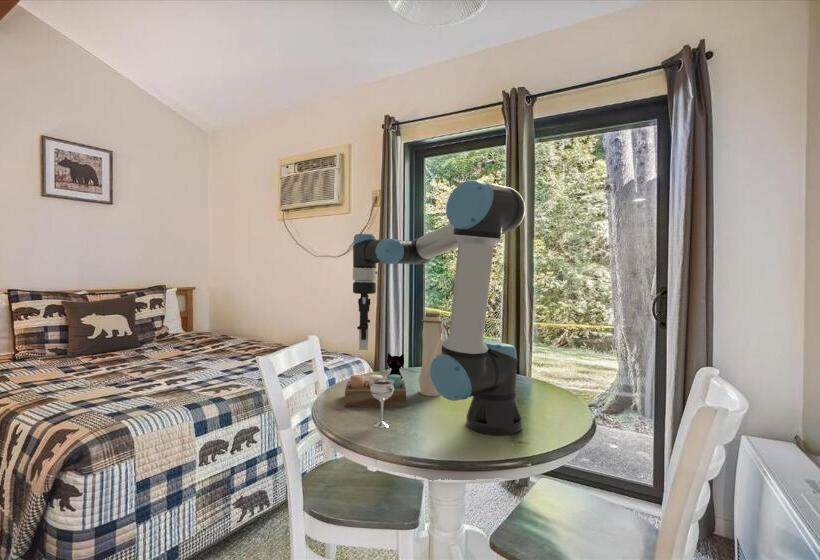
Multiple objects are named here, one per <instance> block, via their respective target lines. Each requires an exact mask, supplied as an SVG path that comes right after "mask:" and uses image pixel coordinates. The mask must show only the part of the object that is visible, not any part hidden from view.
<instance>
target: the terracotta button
mask: <svg viewBox="0 0 820 560" xmlns="http://www.w3.org/2000/svg"><path fill="white" fill-rule="evenodd" d="M350 381H351V388H364V381H365V376H364V375H363V374H353V375H350Z"/></svg>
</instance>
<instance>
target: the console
mask: <svg viewBox="0 0 820 560" xmlns="http://www.w3.org/2000/svg"><path fill="white" fill-rule="evenodd" d="M406 388H407V387H406V383H405V380H403V379H401V388H394V393H393V395H392V396H391V397H390V398H389V399H387V400H385V402H384V405H383V408H388V407H389V408H390V407H393V408H394V407H407V389H406ZM351 406H352V407H351ZM356 406H364V407H363V408H366V407H365V406H368V407H367V408H377V407H378V408H381V402H380V401H379V400H377V399H375V398H374V397H373V396H372V395H371V392H370V388H369V380H364V388H351V380H348V381H347V384H346V386H345V390H344V408H357V407H356ZM369 406H370V407H369Z"/></svg>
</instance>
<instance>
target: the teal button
mask: <svg viewBox="0 0 820 560" xmlns="http://www.w3.org/2000/svg"><path fill="white" fill-rule="evenodd" d="M387 376H388V378H387V379H392V380H394V383H393V385H394V388H401V380H402V379H401V376H400V375H389V374H388V375H387Z"/></svg>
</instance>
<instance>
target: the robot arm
mask: <svg viewBox="0 0 820 560" xmlns="http://www.w3.org/2000/svg"><path fill="white" fill-rule="evenodd" d="M445 212H446V213H445V214H446V218H447V219H448V222H449V224H447V225H443V226H442V227H439V228H437V229H435V230H433V231H431V232H429V233H426V234H423V235H422V236H420V237H417V238H416V239H414V240H401V239H395V238H383V239H377V235H376V234H373V233H357V234H355V235H354V236H353V244H352V260H353V261H352V265H353V266H352V280H353V283H352V292H353V294H356V295H359V294H360V298H358V300H357V304H358V311H359V325H358V326H357V328H356V329H357V330H359V332H358V333H359V335H358V341H359V342H358V346H359V347H358V350H359V351H369V323H371V319H369V312H370V306H371V298H369V295H372V294H376V293H377V283H376V282H375V281H376V279H377V276H376V275H379V271H377V264H385V265H393V264H394V265H395V264H396V265H397V264H399V265H402V264H403V265H417V266H418V265H424V264H428V263H430V261H431V260H432V258H435V257H437V256H440V255H442V254H443V255H444V253H447V252H450V251H453V250H455V249H457V257H456V267H455V274H454V275H455V276H454V283H453V284H454V285H453V292H452V293H453V294H452V296H453V297H452V305H451V314H450V322H449V330H448V332H449V337H448V338H447V339H446V340H444V341H443V342H442V350H441V355H438V356H437V357H435V359H433V361H432V363H431V366H430V376H431V380H432V383H433V385H434V386H435V388H436V390H437V391H438V393H439V394H440V395H439V396H441V397H442V398H444V399H446V400H448V401H453V402H455V401H461V400H462V401H465V400H467V399H468V398H472V399H471V402H470V404H469V406H468V410H467V412H466V426H467V427H468V428H469V429H471V430H473V431H475V432H478V433H481V434H485V435H491V436H492V435H493V436H509V435H515V434H517V433H519V432H520V431H521V430H522V428H523V418H522V414H521V412H520V408H519V405H518V402H517V363H518V357H517V348H516V346H514V345H512V344H508V343H504V342H498V341H489V340H484V335H485V326H486V325H485V324H486V317H487V309H488V301H489V289H490V282H491V275H492V267H493V266H492V263H493V255H494V247H495V246H496V245H497V244H498V243H499V242H500V241H501V240H502V235H504V234H507V233H510V232H512V231H514V230H516V229H517V228H518V227H519V226H520V225H521V223H522V222H523V220H524V217H525V214H526V204H525V200H524V198H523V197H522V194H520V193H519V191H517V190H515V189H514V188H512V187H509V186H506V185H500V184H496V183H494V182H493V183H492V182H489V181H486V180H476V179H469V180H468V179H467V180H464V181H462V182H461V183H459V184H458V185H457V186H456V188H454V189H453V190H452V191H451V193H450V194H449V196H448V199H447V202H446V206H445Z"/></svg>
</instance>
